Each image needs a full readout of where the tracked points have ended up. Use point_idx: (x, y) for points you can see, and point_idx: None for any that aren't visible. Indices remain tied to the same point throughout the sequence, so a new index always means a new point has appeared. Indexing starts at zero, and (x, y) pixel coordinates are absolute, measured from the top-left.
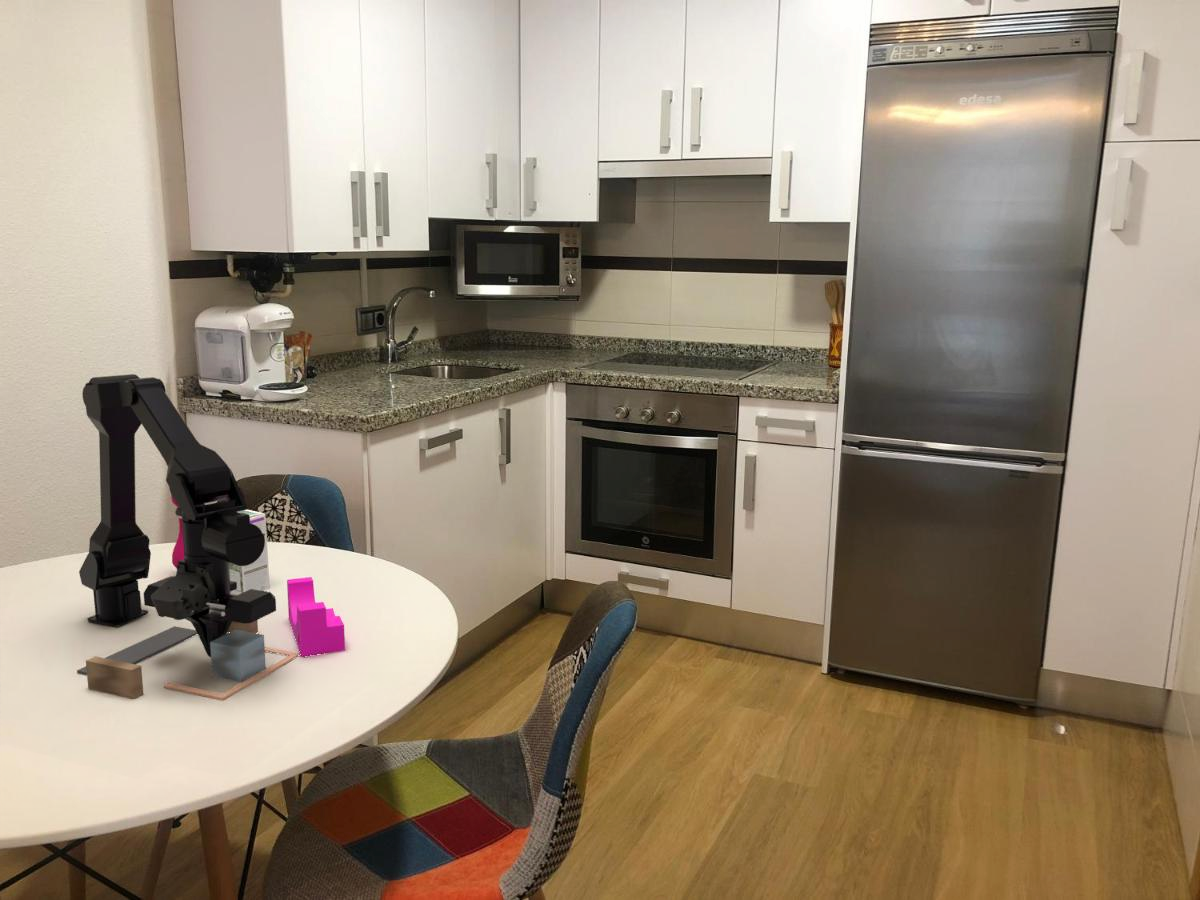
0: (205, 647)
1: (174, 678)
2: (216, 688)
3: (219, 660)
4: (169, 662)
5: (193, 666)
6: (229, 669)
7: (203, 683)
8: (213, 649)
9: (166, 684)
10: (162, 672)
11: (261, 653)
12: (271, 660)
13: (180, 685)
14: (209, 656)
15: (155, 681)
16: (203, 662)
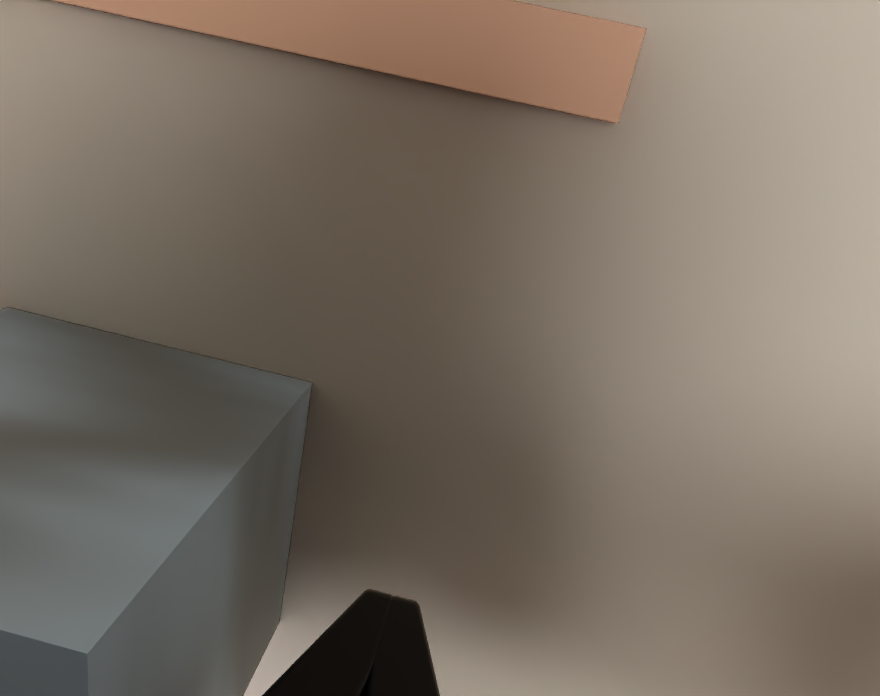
0: (410, 681)
1: (638, 285)
2: (108, 140)
3: (119, 443)
4: (855, 594)
5: (588, 539)
6: (49, 372)
7: (293, 224)
8: (109, 546)
9: (623, 61)
10: (833, 396)
11: None
12: None
13: (448, 73)
14: (399, 597)
15: (818, 180)
16: (543, 610)
